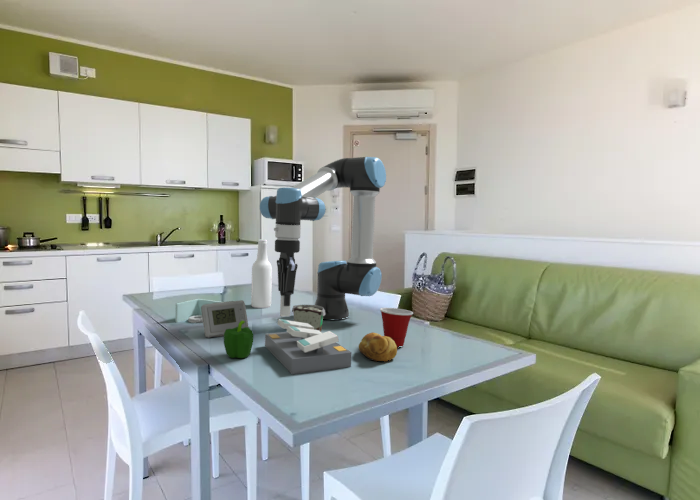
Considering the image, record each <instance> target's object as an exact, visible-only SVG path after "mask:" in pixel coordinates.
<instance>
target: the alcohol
mask: <svg viewBox="0 0 700 500" xmlns="http://www.w3.org/2000/svg"><path fill="white" fill-rule="evenodd" d="M257 245H258V246H257V254H256V255H257V256H256V260H254V262H253V264H252V266H251V291H250V292H251V294H250V296H251V297H250V305H251V307H252V308H254V309H268V308H271V305H272V292H273V291H272V284H273V283H272V282H273V266H272V264H271V262H270V261H269V259H268V258H269V257H268V240H267V239H258V240H257Z"/></svg>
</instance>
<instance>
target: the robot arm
mask: <svg viewBox="0 0 700 500" xmlns="http://www.w3.org/2000/svg"><path fill="white" fill-rule="evenodd" d="M386 182H387V171H386V168H385V165H384V162H383V161H382V160H381V159H380V158H379V157H377V156H363V157H362V156H361V157H344V158H340V159H337V160H334V161H332V162H330V163H328V164H326V165H323V166H322V167H321V168H319V169H318V170H317V172H316V173H315V174H313V175H311V176H309V177H307V178H306V179H305V180H303V181H300V182H299V183H297V184H295V185H293V186H292V187H278V189H277V190H276V195H275V196H272V195H269V196H265V197H263V198H262V199H261V201H260V202H259V210H260V214H261V216H263V217H264V218H266V219H271V220H275V227H273V231H274V232H275V233H274V235H275V238H276V239H275V240H274V251H275V252H276V253H280V254H279V257H278V259H277V260H276V266H277V287H278V289H277V290H278V292H279V294H280V307H279V311H280V312H279V316H280V317H285V318H286V317H290V316H291V302H292V301H291V299H292V298H291V296H292V295H294V293H295V285H296V275H297V271H298V270H297V269H298V263H296V259H295V253H296V254H297V253H300V250H301V248H300V247H301V241H300V240H299V239H301V229H302V228H301V221H310V222H314V221H320V220H321V219H322V218H323V217H324V216H325V214H326V205H325V202H324V201H323V200H322V199H321V198H318V197H319V196H321V195H323V194H324V193H325V192H327V191H328V192H332V191H333V190H335V189H339V188H340V189H341V188H349V192H350V194H351V195H352V196H353V201H352V224H351V225H352V227H351V228H352V229H351V249H350V250H351V254H350V258H348V259H347V260H331V261H322V262H319V264H318V268H317V282H316V283H317V285H316V287H317V288H316V290H317V291H316V292H317V293H316V299H315V302H314V305H317V306H321V307H323V308H324V310H325V316H323V319H342V318H346V317H348V316H350V315H349V314H350V312H349V307H348V303H347V301H346V294H347V295H354V296H355V295H356V296H360V297H371V296H372V297H373V296H374V295H375V294H376V293H377V292H378V290H379V288H380V287H381V283H382V278H383V277H382V271H381V269H380V267H378V266H377V261H376V260H375V259H374V237H375V234H374V233H375V216H376V215H375V214H376V213H375V212H376V197H377V196H378V195H379V194H380V192H381V191H380V190H381V188H383V187H384V186H385V185H386ZM348 318H349V317H348ZM346 319H347V318H346ZM342 320H343V319H342Z"/></svg>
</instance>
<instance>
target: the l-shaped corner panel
mask: <svg viewBox="0 0 700 500" xmlns="http://www.w3.org/2000/svg"><path fill="white" fill-rule="evenodd" d="M220 302H221V301H220V300H219V301H218V300H211V299H204V298H196V299H190V300H186V301H182V302H178V303H175V318H174V320H175V323H181V322H184V321H187V322H188V323H190V324H191V323H192V324H198V323H199V324H200V323H201V324H203V319H202V312H201V307H202V305H205V304H212V303H220Z"/></svg>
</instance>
